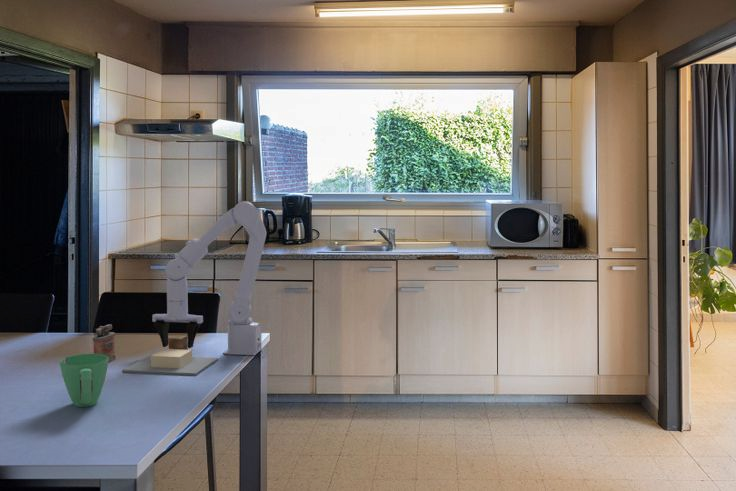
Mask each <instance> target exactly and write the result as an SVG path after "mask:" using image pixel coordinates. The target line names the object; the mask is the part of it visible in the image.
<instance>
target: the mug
mask: <svg viewBox="0 0 736 491" xmlns="http://www.w3.org/2000/svg"><path fill="white" fill-rule="evenodd" d="M108 365H109V363H108V356H107V355H104V354H94V353H81V354H74V355H70V356H67V357H66V358H65V361H64V358H61V359H60V361H59V366H60V369H61V374H62V378H63V382H64V385H65V387H66V391H67V394H68V396H69V398H70V400H71V402H72V404H73V406H74V407H77V408H78V407H79V408H80V407H81V408H82V407H85V408H86V407H91V406H94V405H96V404H97V403H98V402H99V400H100V396H101V394H102V392H103V391H102V390H103V386H104V384H105V381H106V377H107V371H108Z"/></svg>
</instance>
